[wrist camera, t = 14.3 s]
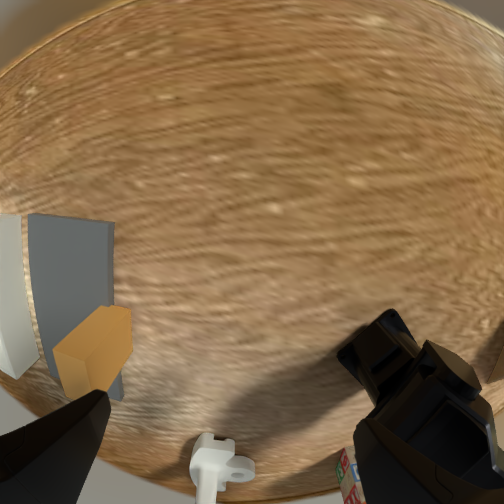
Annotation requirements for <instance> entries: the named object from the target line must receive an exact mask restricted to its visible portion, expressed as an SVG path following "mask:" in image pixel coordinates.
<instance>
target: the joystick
mask: <svg viewBox="0 0 504 504" xmlns="http://www.w3.org/2000/svg"><path fill="white" fill-rule="evenodd" d="M234 455H235V441H234V440H232V439H225V440H224V441H219V440H214V434H212V433H202V434H201V435H200V436H199V438H198V439H197V441H196V442H195V445H194V447H193V451H192V456H191V462H190V476H191V479H192V481H193V483H194V484H195V485H196V487H197V491H196V500H195V504H215V503H216V494H217V491H225V490H226V481H231V482H247V481H250V480H252V479H254V477H255V463H254V461H253V460H251V459H249V458H247V457H245V456H238V455H236V456H234Z"/></svg>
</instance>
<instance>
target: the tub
mask: <svg viewBox="0 0 504 504" xmlns="http://www.w3.org/2000/svg"><path fill="white" fill-rule="evenodd" d="M21 217H22V215H14V214H5V213H0V370H2V371H3V372H5V373H6V374H8V375H10V376H11V377H13V378H15V379H16V380H17V379H18V378H19V377H20V376H21V375H22V374H23V373H24V372H25V371H26V370H27V369H29V368H30V367H31V366H32V365H33V364H34V363H35V362H36V361H37V360H38V359H39V358H40V355H39V352H38V348H37V344H36V340H35V336H34V331H33V327H32V322H31V317H30V311H29V306H28V300H27V293H26V285H25V277H24V267H23V254H22V228H21Z"/></svg>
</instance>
